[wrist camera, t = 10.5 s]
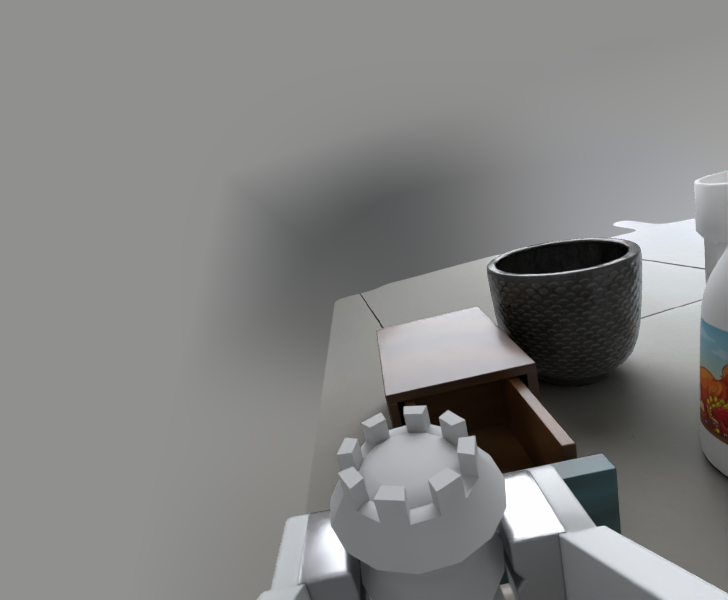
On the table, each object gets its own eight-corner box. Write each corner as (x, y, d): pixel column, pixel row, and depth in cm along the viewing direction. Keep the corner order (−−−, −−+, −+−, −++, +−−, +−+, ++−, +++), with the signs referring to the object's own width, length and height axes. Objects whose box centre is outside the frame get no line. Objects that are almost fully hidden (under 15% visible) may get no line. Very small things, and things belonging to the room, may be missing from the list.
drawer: (686, 658, 17) (685, 541, 15) (456, 700, 18) (428, 591, 16) (522, 425, 34) (512, 356, 32) (407, 450, 35) (391, 383, 33)
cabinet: (547, 457, 31) (535, 362, 29) (407, 486, 32) (385, 396, 29) (488, 374, 45) (477, 306, 43) (392, 395, 46) (376, 329, 43)
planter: (586, 422, 34) (574, 283, 30) (476, 372, 46) (458, 269, 43) (677, 362, 39) (675, 237, 36) (556, 331, 51) (546, 236, 48)
